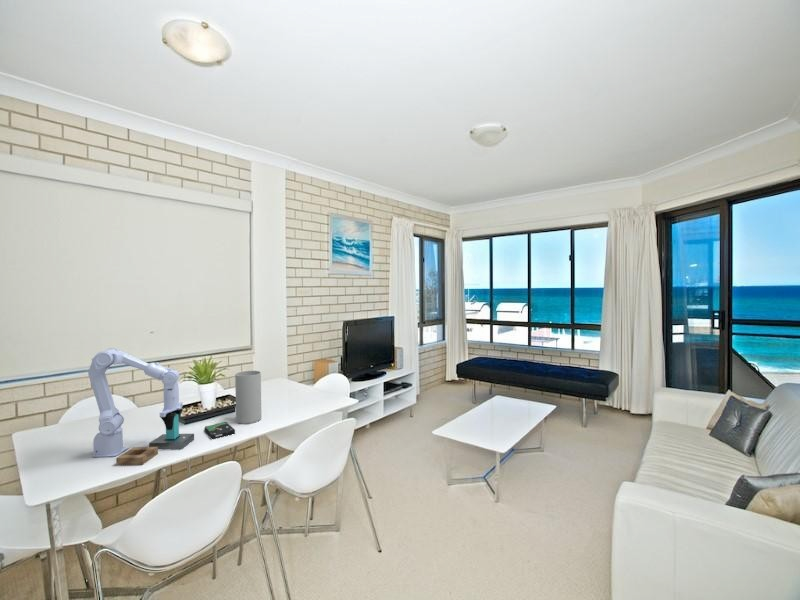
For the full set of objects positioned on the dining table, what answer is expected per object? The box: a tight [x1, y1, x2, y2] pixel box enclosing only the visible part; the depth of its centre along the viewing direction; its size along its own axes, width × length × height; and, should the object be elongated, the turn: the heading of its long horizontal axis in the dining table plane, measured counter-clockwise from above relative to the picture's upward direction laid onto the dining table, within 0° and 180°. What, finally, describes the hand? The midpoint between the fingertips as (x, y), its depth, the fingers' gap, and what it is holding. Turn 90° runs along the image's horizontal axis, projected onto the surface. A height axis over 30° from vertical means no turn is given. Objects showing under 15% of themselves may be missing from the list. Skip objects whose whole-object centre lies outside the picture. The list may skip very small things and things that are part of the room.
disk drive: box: [204, 421, 236, 440], centre depth 180 cm, size 10×3×15 cm
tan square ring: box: [115, 446, 159, 466], centre depth 152 cm, size 10×10×3 cm
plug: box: [165, 413, 180, 439], centre depth 166 cm, size 4×4×11 cm
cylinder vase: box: [234, 370, 262, 425], centre depth 196 cm, size 12×12×25 cm
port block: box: [148, 433, 195, 450], centre depth 166 cm, size 14×10×3 cm
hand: (172, 427), depth 166 cm, fingers closed on plug, 4 cm apart
